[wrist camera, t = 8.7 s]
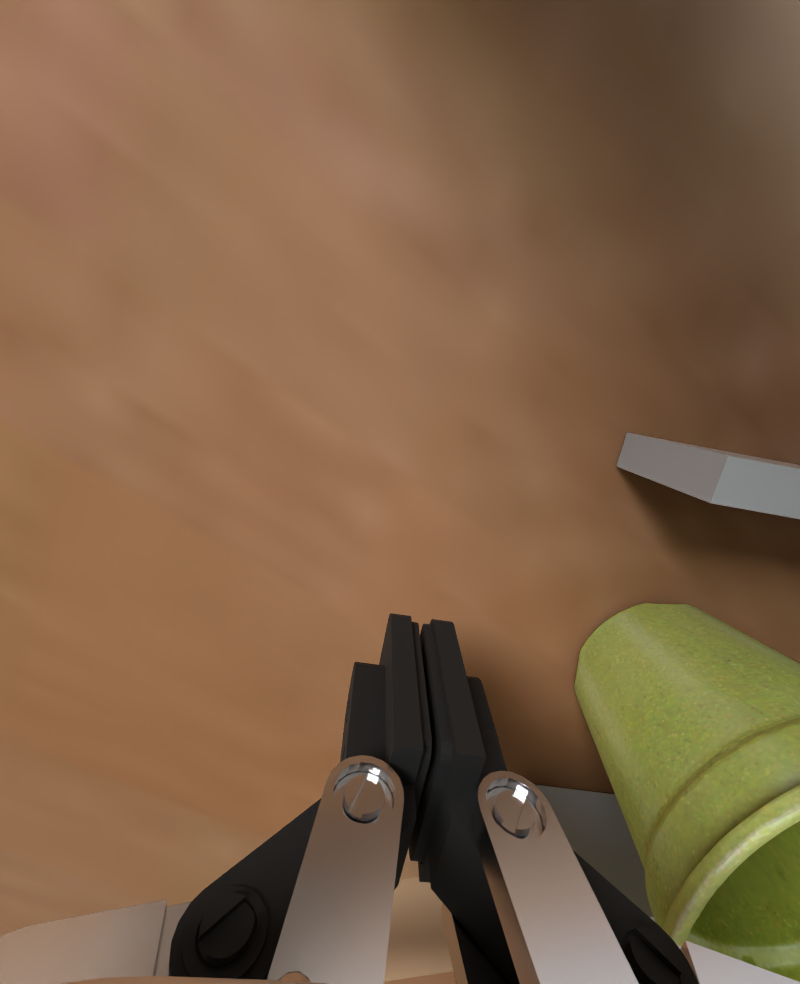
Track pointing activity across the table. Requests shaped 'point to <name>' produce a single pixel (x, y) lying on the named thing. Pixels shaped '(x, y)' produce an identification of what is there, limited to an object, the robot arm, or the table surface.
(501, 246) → the table surface
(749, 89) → the table surface
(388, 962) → the tile
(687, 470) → the u-shaped fence
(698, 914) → the plant pot
